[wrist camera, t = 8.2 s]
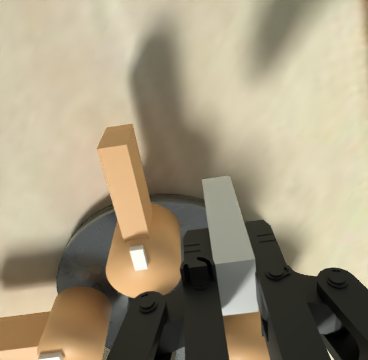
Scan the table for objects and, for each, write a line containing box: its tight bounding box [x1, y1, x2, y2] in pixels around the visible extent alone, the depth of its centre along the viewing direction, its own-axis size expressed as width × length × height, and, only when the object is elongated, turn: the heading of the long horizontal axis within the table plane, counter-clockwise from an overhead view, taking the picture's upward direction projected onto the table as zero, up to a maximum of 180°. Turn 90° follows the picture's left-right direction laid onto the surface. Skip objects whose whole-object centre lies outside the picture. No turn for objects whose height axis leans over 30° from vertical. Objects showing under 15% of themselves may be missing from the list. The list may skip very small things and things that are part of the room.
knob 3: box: [223, 307, 270, 360], centre depth 30 cm, size 11×5×5 cm, turn 28°
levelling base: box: [57, 194, 208, 360], centre depth 26 cm, size 18×18×11 cm
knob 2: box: [97, 124, 181, 298], centre depth 22 cm, size 11×5×5 cm, turn 8°
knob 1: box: [0, 286, 112, 360], centre depth 28 cm, size 11×5×5 cm, turn 98°
